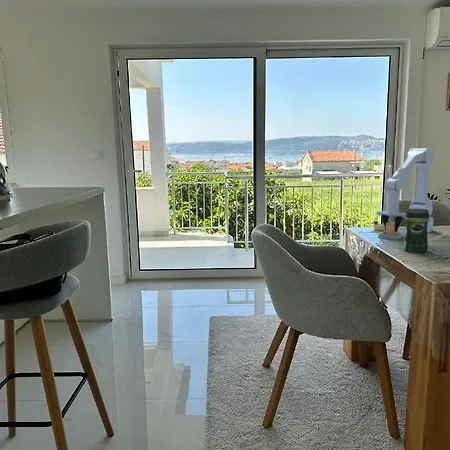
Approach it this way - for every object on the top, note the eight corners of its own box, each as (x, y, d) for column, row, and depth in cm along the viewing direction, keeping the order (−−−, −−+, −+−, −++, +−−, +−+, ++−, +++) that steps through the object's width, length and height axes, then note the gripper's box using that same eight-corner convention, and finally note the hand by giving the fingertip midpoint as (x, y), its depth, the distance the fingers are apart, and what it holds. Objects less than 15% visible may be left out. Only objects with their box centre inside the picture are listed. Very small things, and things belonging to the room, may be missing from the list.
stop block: (396, 234, 195) (397, 222, 194) (393, 235, 192) (394, 223, 191) (388, 233, 198) (388, 221, 196) (385, 234, 195) (386, 222, 194)
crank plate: (406, 233, 209) (406, 230, 209) (396, 237, 199) (397, 235, 198) (379, 230, 218) (379, 227, 218) (369, 234, 208) (369, 232, 208)
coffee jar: (426, 249, 175) (429, 207, 172) (428, 253, 168) (431, 210, 165) (402, 247, 179) (405, 207, 175) (403, 252, 172) (405, 209, 168)
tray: (403, 239, 196) (404, 233, 195) (397, 242, 189) (397, 236, 188) (385, 236, 202) (385, 230, 201) (377, 240, 195) (378, 234, 194)
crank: (391, 231, 208) (391, 222, 207) (389, 231, 206) (390, 222, 205) (374, 229, 214) (374, 220, 213) (372, 229, 212) (372, 221, 211)
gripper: (374, 203, 194) (373, 230, 196) (405, 205, 184) (403, 234, 187) (380, 201, 199) (378, 228, 202) (410, 203, 189) (408, 231, 192)
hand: (391, 231), depth 195 cm, fingers closed on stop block, 4 cm apart
